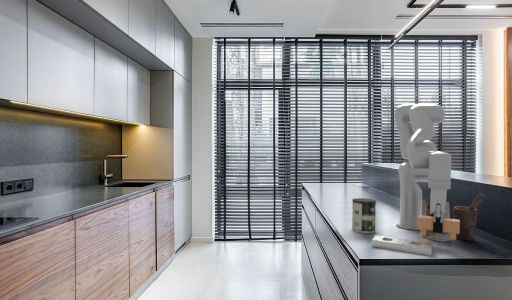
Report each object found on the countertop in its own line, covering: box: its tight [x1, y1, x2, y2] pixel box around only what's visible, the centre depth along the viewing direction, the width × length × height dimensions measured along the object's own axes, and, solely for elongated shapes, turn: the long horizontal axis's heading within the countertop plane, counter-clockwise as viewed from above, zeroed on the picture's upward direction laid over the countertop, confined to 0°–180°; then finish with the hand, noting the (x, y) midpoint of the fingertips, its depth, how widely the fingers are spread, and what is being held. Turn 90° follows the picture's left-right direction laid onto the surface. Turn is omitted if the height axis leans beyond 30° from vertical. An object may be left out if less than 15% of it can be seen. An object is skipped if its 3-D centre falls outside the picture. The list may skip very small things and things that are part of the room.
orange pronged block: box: [417, 215, 460, 241], centre depth 124 cm, size 14×4×7 cm, turn 60°
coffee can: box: [351, 197, 377, 234], centre depth 147 cm, size 10×10×14 cm
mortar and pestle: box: [452, 193, 486, 242], centre depth 134 cm, size 12×9×20 cm
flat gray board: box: [371, 234, 433, 257], centre depth 121 cm, size 20×8×2 cm, turn 60°
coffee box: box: [421, 198, 452, 243], centre depth 135 cm, size 9×6×16 cm
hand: (437, 230), depth 124 cm, fingers closed on orange pronged block, 4 cm apart
